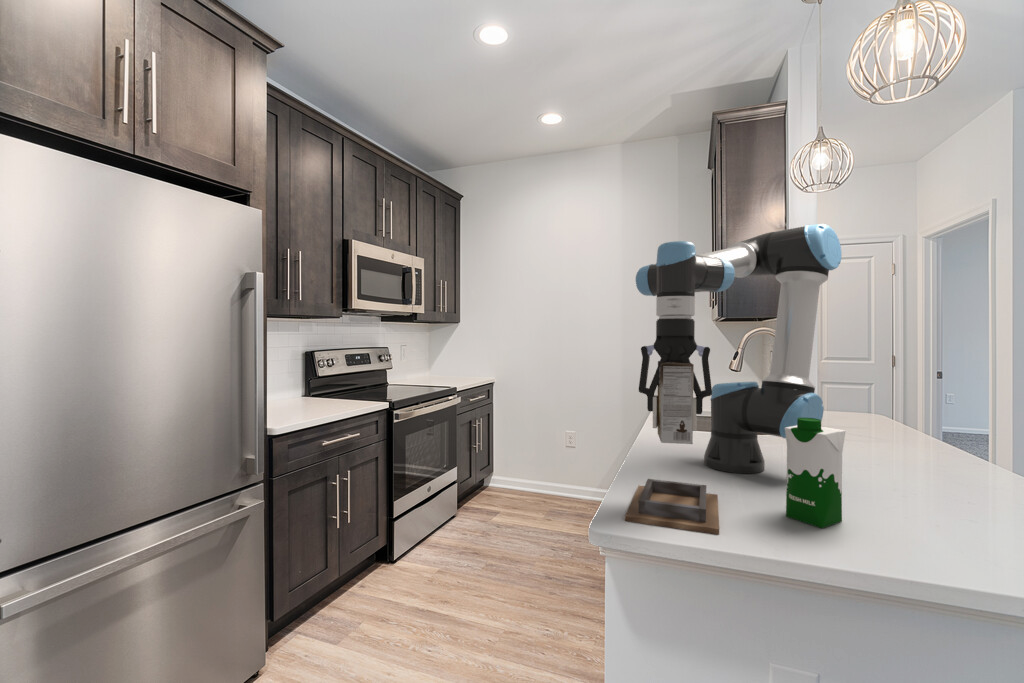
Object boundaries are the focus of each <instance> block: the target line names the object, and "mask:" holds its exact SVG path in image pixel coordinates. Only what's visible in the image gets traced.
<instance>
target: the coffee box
mask: <svg viewBox="0 0 1024 683" xmlns="http://www.w3.org/2000/svg"><path fill="white" fill-rule="evenodd" d="M659 362H660V360H658V361H657V366H658V365H659ZM694 368H695V367H694V364H693V363H691V362H690V363H682V362H664V363H660V367H659V382H658V385H657V396H658V426H657V428H656V429H657V435H658V437H659V441H660V443H662V444H684V445H693V444H694V443H693V437H694V434H693V432H694V431H693V397H694V390H693V374H694V373H695V371H694Z"/></svg>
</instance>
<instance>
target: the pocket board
mask: <svg viewBox="0 0 1024 683" xmlns="http://www.w3.org/2000/svg"><path fill="white" fill-rule="evenodd" d="M718 498H719V497H718V494H715V493H708V492H707V484H700V483H699V484H698V483H689V482H680V481H671V480H661V479H652V478H647V479H646V482H645V485H638V486H637V488H636V491H635V493H634V495H633V497H632V500H631V502H630V503H629V506H628V508H627V511H626V513H625V515H624V521H625V522H631V523H636V524H637V523H638V524H645V525H651V526H657V527H658V526H659V527H664V528H671V529H680V530H685V531H692V532H700V533H707V534H714V535H720V519H719V518H720V516H719V500H718Z"/></svg>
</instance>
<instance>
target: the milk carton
mask: <svg viewBox="0 0 1024 683" xmlns="http://www.w3.org/2000/svg"><path fill="white" fill-rule="evenodd" d="M785 434H786V439H785V440H786V494H785V496H786V499H785V500H786V503H785V505H786V506H785V508H786V509H785V517H787V518H790V519H793V520H796V521H799V522H801V523H805V524H808V525H811V526H813V527H816V528H819V529H825V528H827V527H830V526H832V525H835V523H836V524H837V523H838V524H839V523H841V522H842V521H843V510H842V509H843V505H842V504H843V501H842V500H843V499H842V498H843V496H842V495H843V451H844V446H845V445H844V443H845V437H846V430H845V429H838V428H832V427H825V426H822V421H821V420H820V419H815V418H798V419H797V425H796V426H791V427H786V428H785ZM840 521H841V522H840Z"/></svg>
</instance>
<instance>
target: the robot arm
mask: <svg viewBox="0 0 1024 683" xmlns="http://www.w3.org/2000/svg"><path fill="white" fill-rule="evenodd" d="M841 262H842V247H841V242H840V240H839V236H838V235H837V233H836V231H835V230H834V229H833V228H832V227H831V226H829V224H828V225H827V224H825V223H819V224H811V225H810V224H807V225H804V226H799V227H793V228H789V229H782V230H778V231H771V232H765V233H763V234H760V235H756V236H753V237H751V238H748V239H745V240H742V241H739V242H734V243H732V244H730V245H729V246H728V247H727V248H724V249H719V250H714V251H710V252H706V253H705V252H704V253H701V254H697V251H696V246H695V244H694V243H693V242H691V241H687V240H686V241H685V240H682V241H681V240H677V241H669V242H664V243H662V244H659V246H658V247H657V254H656V263H655V264H654V263H652V264H651V263H650V264H648V265H645V266H642V267H640V268H639V269H638V270H637V272H636V275H635V284H636V285H635V286H636V289H637V290H638V293H640V294H641V295H643V296H646V297H647V296H649V297H650V296H651V297H656V309H655V310H656V311H655V313H656V317H659V318H658V319H656V322H655V327H656V328H655V331H656V332H655V341H654V342H653V344H651V345H643V346H641V347H640V352H641V356H642V361H641V368H640V375H639V382H638V392H639V393H640V394H644V395H646V398H647V404H646V406H647V411H648V412H652V429H657V426H658V395H655V392H656V390H657V389H658V382H659V367H660V363H664V362H682V363H691V360H690V357H691V356H692V355H693V354H694V352H695V351H697V352H698V354H697V355H698V356H699V357H701V366H702V373H703V382H704V390H702V389H701V387H700V385H699V381H698V379H697V376H696V373H695V372H694V374H693V393H694V395H695V396H693V432H696V431H697V415H702V414H703V399H705V398H706V397H710V437H709V441H708V443H707V445H706V449H705V452H704V454H703V464H704V465H705V466H707V467H708V468H711V469H714V470H717V471H722V472H726V473H733V474H757V473H762V472H763V471H764V470H765V467H766V466H765V459H764V455H763V452H762V449H761V447H760V444H759V440H758V434H761V435H762V434H763V435H768V436H773V437H779V438H783V439H785V440H786V434H785V428H786V427H791V426H796V425H797V419H798V418H815V419H820V420H821V422H822V420H823V416H824V410H825V409H824V405H823V404H824V402H823V399H822V397H821V396H820V395H818V394H817V393H815V392H816V391H815V390H816V386H815V385H814V384H813V383H812V382H811V381H810V371H811V363H812V362H811V361H812V354H813V346H814V340H815V339H814V338H815V330H816V322H817V313H818V304H819V294H820V288H821V286H822V285H823V284H824V283H826V282H827V281H828V279H829V272H830V271H834V270H836V269H837V268H838V267H839V266H840V264H841ZM753 276H754V277H755V276H756V277H757V276H775V280H776V281H777V282H779V283H780V288H779V289H780V291H779V298H778V305H777V314H776V321H775V323H776V324H775V331H774V336H773V337H774V338H773V346H772V351H771V352H772V353H771V359H770V360H771V363H770V370H769V375H767V377H764V378H763V379H762V380H761V387H760V386H759V384H758V382H757V381H738V382H736V381H735V382H725V383H724V382H723V383H722V382H721V383H715V384H713V386H712V381H711V380H712V379H711V374H710V372H711V371H710V365H709V363H710V362H709V355H710V353H711V347H709V346H704V345H698V344H697V342H696V339H695V319H693V318H692V317H694V316H695V314H696V313H695V311H696V307H695V304H696V300H695V299H696V296H695V295H696V294H695V293H702V292H704V293H705V292H707V293H720V292H723V291H726V290H728V289H729V288H730V287H731V286H732V284H733V282H734V280H735V278H738V279H739V278H740V279H741V278H746V277H753ZM654 350H655V351H656V353H657V354H658V355H659V357H660V360H659V361H660V362H659V365H658V364H657V368H656V370H655V373H654V375H653V378H652V380H651V382H650V385H649V388H648V387H647V383H648V382H647V381H648V374H649V367H650V356H652V355H653V353H654V352H653V351H654Z"/></svg>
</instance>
